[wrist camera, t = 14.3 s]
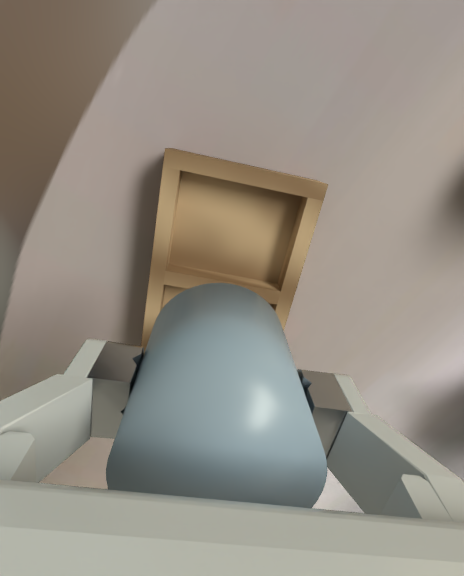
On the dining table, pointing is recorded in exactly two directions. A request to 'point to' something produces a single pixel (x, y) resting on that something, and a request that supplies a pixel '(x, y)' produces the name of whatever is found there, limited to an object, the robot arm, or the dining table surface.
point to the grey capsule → (219, 407)
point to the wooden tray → (229, 230)
